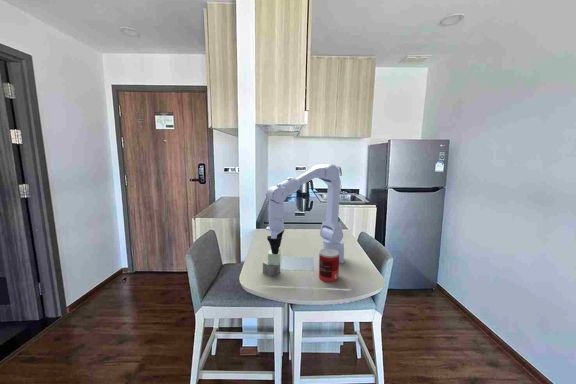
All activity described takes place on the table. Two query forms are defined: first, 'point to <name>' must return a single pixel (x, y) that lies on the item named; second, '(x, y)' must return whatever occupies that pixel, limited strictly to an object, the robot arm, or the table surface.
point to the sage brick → (273, 258)
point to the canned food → (328, 265)
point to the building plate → (297, 263)
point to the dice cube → (270, 269)
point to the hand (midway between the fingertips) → (276, 250)
